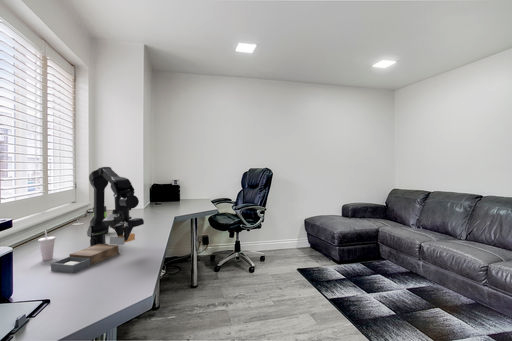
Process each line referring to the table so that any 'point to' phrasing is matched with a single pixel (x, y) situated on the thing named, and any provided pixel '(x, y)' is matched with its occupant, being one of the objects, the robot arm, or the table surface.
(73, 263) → the tile
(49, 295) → the table surface
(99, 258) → the tan block
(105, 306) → the table surface
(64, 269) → the box
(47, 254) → the smoothie
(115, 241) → the scraper
